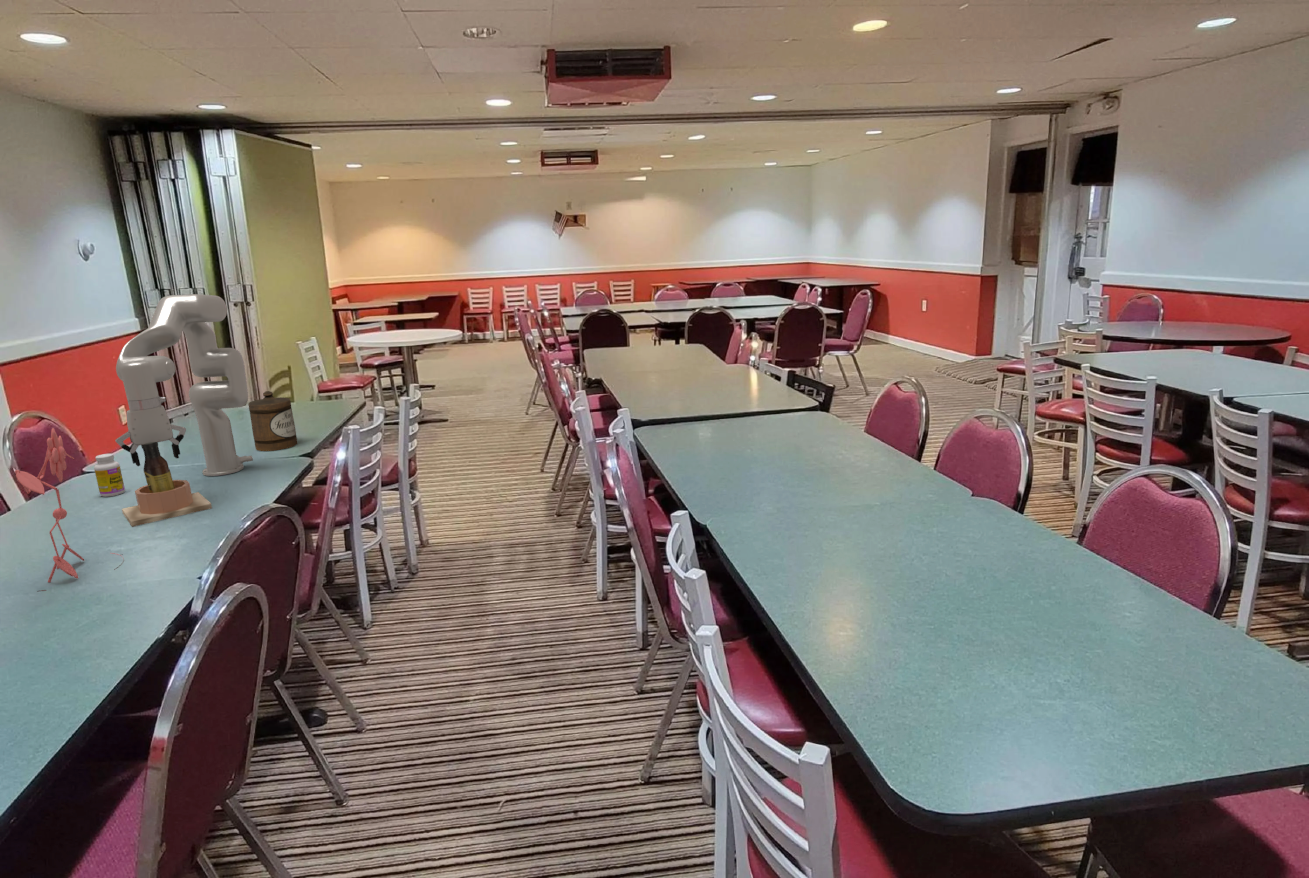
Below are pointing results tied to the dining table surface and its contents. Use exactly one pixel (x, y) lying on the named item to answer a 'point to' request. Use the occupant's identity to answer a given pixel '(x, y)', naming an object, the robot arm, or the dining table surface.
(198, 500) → the birch board
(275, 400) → the wooden container
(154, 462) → the sauce bottle
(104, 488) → the supplement bottle
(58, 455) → the figurine
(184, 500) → the jar collar
